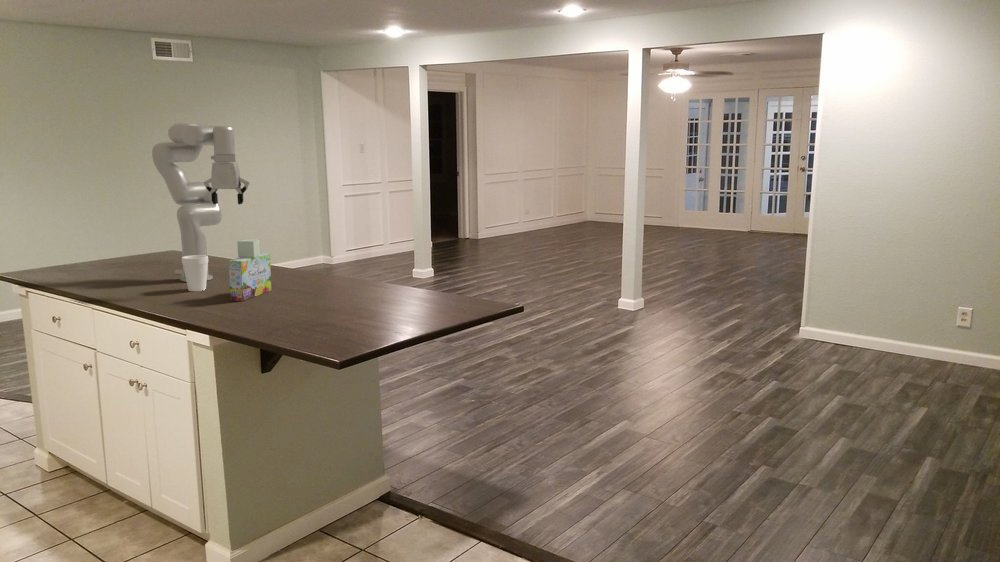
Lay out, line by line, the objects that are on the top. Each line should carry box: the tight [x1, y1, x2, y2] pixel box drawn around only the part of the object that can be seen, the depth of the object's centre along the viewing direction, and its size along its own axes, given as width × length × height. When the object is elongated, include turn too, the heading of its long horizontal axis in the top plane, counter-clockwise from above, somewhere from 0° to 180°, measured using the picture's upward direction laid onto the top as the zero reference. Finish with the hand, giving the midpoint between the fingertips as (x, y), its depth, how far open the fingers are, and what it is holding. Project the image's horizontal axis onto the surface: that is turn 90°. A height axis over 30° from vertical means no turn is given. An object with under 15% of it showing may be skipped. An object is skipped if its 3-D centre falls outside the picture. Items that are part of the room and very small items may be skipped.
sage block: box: [236, 238, 261, 258], centre depth 277 cm, size 6×6×6 cm
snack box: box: [228, 252, 272, 302], centre depth 279 cm, size 21×6×15 cm, turn 168°
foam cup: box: [181, 255, 209, 292], centre depth 290 cm, size 10×9×13 cm
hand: (227, 203), depth 287 cm, fingers open, 9 cm apart
